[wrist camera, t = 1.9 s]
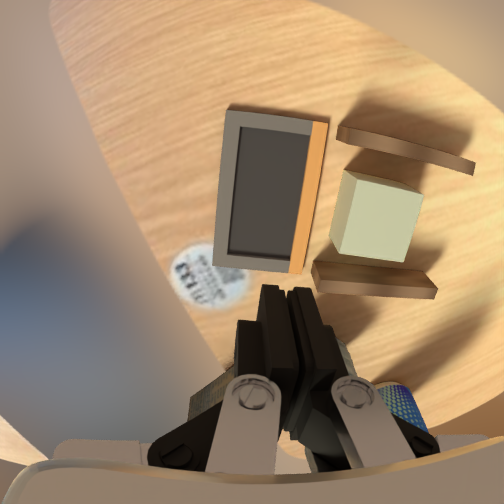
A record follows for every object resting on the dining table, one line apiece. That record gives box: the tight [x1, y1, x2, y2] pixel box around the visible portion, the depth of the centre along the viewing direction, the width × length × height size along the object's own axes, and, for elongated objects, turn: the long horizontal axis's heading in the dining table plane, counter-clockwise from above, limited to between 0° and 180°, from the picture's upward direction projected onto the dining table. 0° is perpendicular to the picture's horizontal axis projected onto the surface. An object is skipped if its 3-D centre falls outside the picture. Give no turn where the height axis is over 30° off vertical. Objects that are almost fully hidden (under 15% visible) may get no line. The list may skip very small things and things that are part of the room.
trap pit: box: [212, 110, 328, 274], centre depth 27 cm, size 8×13×1 cm, turn 173°
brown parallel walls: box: [311, 126, 476, 299], centre depth 26 cm, size 12×13×4 cm
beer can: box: [374, 381, 429, 433], centre depth 31 cm, size 8×8×16 cm
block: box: [329, 170, 424, 262], centre depth 26 cm, size 6×6×4 cm
